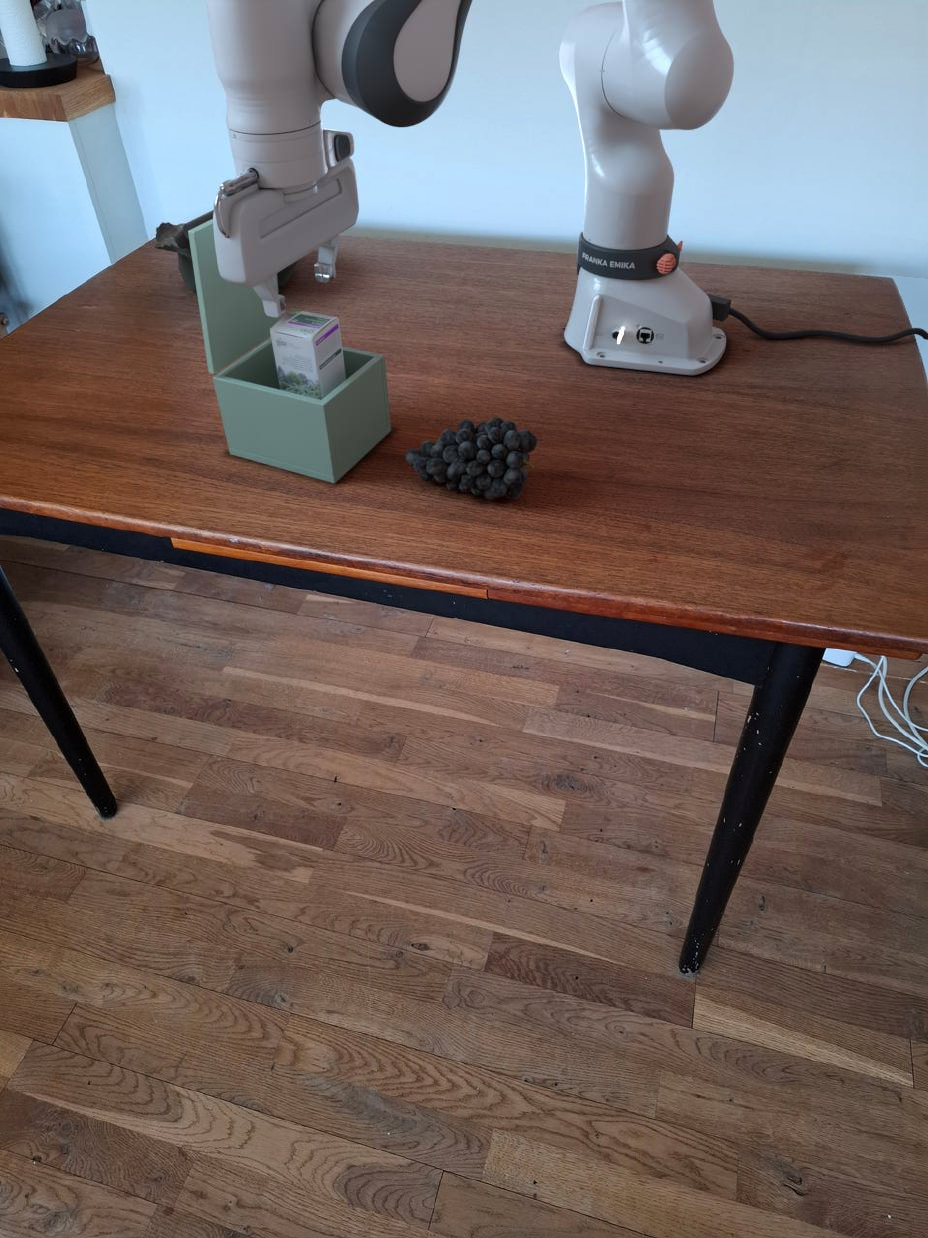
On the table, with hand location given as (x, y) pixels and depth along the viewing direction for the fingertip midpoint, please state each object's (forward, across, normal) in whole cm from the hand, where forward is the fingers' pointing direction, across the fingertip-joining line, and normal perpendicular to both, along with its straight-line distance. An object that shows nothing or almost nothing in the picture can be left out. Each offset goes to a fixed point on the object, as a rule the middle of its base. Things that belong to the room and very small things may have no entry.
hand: (302, 296), depth 94 cm
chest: (+18, 0, +2) cm, 18 cm away
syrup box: (+17, 0, 0) cm, 17 cm away
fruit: (+18, 0, -20) cm, 27 cm away
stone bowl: (+18, +38, +40) cm, 58 cm away
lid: (0, 0, +8) cm, 8 cm away
